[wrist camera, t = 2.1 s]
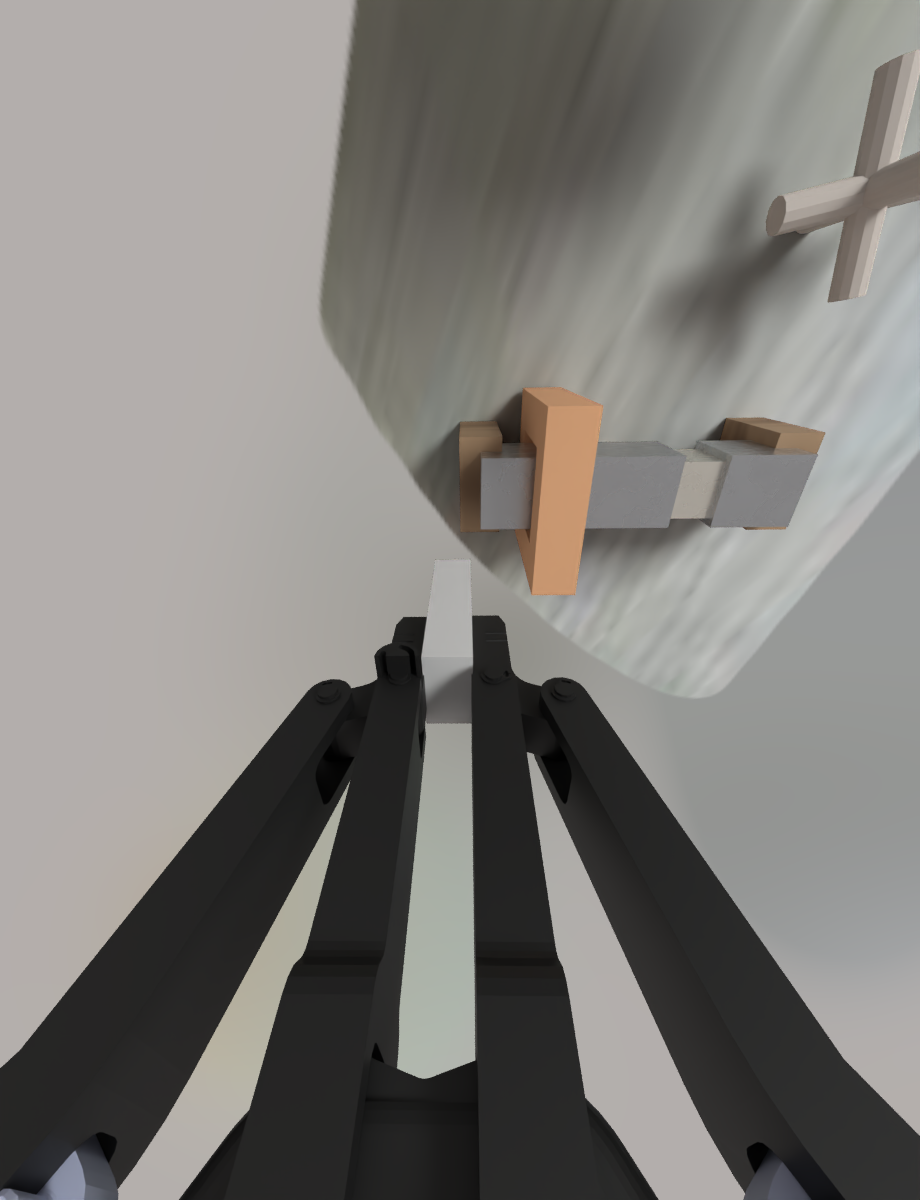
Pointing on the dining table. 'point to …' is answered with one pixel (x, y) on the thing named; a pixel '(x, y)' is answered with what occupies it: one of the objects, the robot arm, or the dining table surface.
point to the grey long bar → (658, 484)
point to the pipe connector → (862, 182)
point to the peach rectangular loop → (558, 485)
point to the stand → (490, 440)
